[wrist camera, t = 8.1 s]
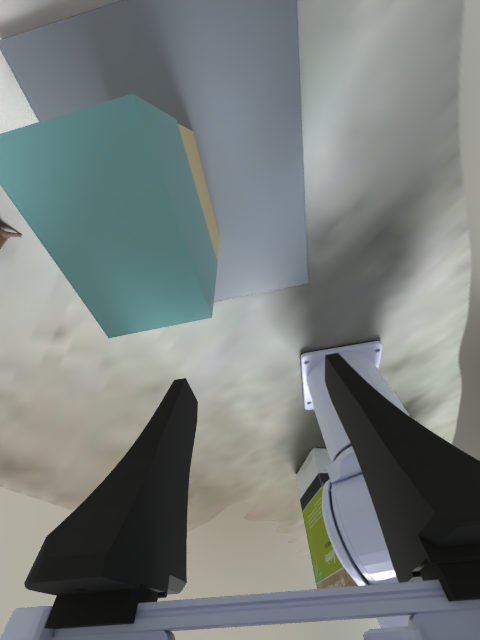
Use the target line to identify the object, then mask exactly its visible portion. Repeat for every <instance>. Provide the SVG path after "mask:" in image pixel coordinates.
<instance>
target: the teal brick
mask: <svg viewBox="0 0 480 640" xmlns="http://www.w3.org/2000/svg"><path fill="white" fill-rule="evenodd" d="M0 185H1V186H2V188H3V189H4V191H5V192H6V193H7V195H8V196H9V198H10V199H11V200H12V202H13V203H14V205H15V206H16V207H17V209H18V210H19V212H20V213H21V215H22V216H23V217H24V219H25V220H26V222H27V223H28V224H29V226H30V227H31V229H32V230H33V232H34V233H35V234H36V236H37V237H38V239H39V240H40V241H41V243H42V244H43V246H44V247H45V249H46V250H47V251H48V253H49V254H50V256H51V257H52V258H53V260H54V261H55V263H56V264H57V265H58V267H59V268H60V270H61V271H62V273H63V274H64V275H65V277H66V278H67V280H68V281H69V282H70V284H71V285H72V287H73V288H74V290H75V291H76V292H77V294H78V295H79V297H80V298H81V299H82V301H83V302H84V304H85V305H86V306H87V308H88V309H89V311H90V312H91V314H92V315H93V316H94V318H95V319H96V321H97V322H98V323H99V325H100V326H101V328H102V329H103V331H104V332H105V333H106V335H107V336H108V338H112V337H117V336H122V335H127V334H132V333H137V332H142V331H147V330H152V329H157V328H162V327H167V326H172V325H177V324H182V323H187V322H192V321H197V320H202V319H207V318H212V311H213V303H214V294H215V285H216V276H217V267H218V262H217V259H216V255H215V252H214V248H213V245H212V241H211V238H210V234H209V231H208V227H207V224H206V220H205V217H204V213H203V210H202V206H201V203H200V199H199V196H198V193H197V189H196V186H195V182H194V179H193V175H192V172H191V168H190V165H189V161H188V158H187V154H186V151H185V147H184V144H183V140H182V137H181V133H180V130H179V126H178V123H177V119H176V118H174V117H172V116H170V115H169V114H167V113H165V112H164V111H162V110H160V109H158V108H157V107H155V106H153V105H152V104H150V103H148V102H147V101H145V100H143V99H141V98H140V97H138V96H136V95H135V94H130V95H126V96H123V97H120V98H117V99H113V100H110V101H107V102H104V103H100V104H97V105H94V106H90V107H87V108H84V109H81V110H77V111H74V112H71V113H68V114H64V115H61V116H58V117H54V118H51V119H48V120H45V121H41V122H38V123H35V124H32V125H28V126H25V127H22V128H19V129H15V130H12V131H9V132H5V133H2V134H0Z"/></svg>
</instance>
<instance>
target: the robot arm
mask: <svg viewBox="0 0 480 640" xmlns="http://www.w3.org/2000/svg"><path fill="white" fill-rule="evenodd" d="M382 348H383V344H382V343H381V342H380V341H373V342H368V343H362V344H356V345H350V346H344V347H338V348H332V349H326V350H320V351H314V352H308V353H304V354H302V355H301V370H302V382H303V395H304V407H305V409H306V410H313V409H314V411H315V414H316V417H317V420H318V423H319V427H320V430H321V433H322V436H323V439H324V442H325V445H326V448H327V451H328V454H329V457H330V459H331V461H332V462H333V463H331V464H329V465H327V466H326V468H327V471H328V475H329V478H330V480H328V481H327V482H326V483H325V484H324V487H323V493H322V513H323V518H324V523H325V527H326V530H327V533H328V536H329V539H330V542H331V544H332V547H333V549H334V551H335V553H336V555H337V557H338V559H339V560H340V562H341V564H342V565H343V567H344V568H345V570H346V571H347V572H348V573H349V575H350V576H351V577H352V578H353V580H354V581H355V582H356V584H357V585H358V586H352V587H339V588H326V589H313V590H301V591H288V592H275V593H263V594H250V595H237V596H224V597H212V598H198V599H187V600H174V601H160V602H157V599H158V598H166V596H167V594H178V593H180V592H181V591H182V589H183V588H184V586H185V585H186V583H187V581H186V580H187V579H186V538H187V505H188V486H189V472H190V464H191V458H192V451H193V445H194V438H195V432H196V425H197V405H198V402H197V400H196V398H195V396H194V394H193V392H192V390H191V388H190V386H189V384H188V382H187V380H186V378H184V379H178V380H174V382H173V383H172V385H171V387H170V388H169V390H168V392H167V393H166V395H165V397H164V398H163V400H162V402H161V403H160V405H159V407H158V408H157V410H156V412H155V413H154V415H153V416H152V418H151V420H150V421H149V423H148V424H147V426H146V427H145V429H144V430H143V431H142V433H141V434H140V436H139V437H138V439H137V440H136V441H135V443H134V444H133V446H132V447H131V448H130V449H129V451H128V452H127V453H126V455H125V456H124V457H123V458H122V460H121V461H120V462H119V463H118V464H117V466H116V467H115V468H114V469H113V470H112V471H111V473H110V474H109V475H108V476H107V477H106V478H105V480H104V481H103V482H102V483H101V484H100V485H99V486H98V487H97V488H96V489H95V490H94V491H93V492H92V493H91V494H90V496H89V497H88V498H87V499H86V500H85V501H84V502H83V503H82V504H81V505H80V506H79V507H78V508H77V509H76V510H75V511H74V512H73V513H71V514H70V515H69V516H68V517H67V518H66V519H65V520H64V521H63V522H62V523H61V524H60V525H59V526H58V527H57V528H55V530H53V531H52V532H51V533H50V534H49V535H48V536H47V537H46V539H45V541H44V543H43V545H42V547H41V550H40V552H39V554H38V556H37V558H36V560H35V562H34V564H33V566H32V568H31V570H30V573H29V575H28V577H27V579H26V581H25V587H26V588H27V589H29V590H33V591H37V592H42V593H47V594H52V595H57V597H56V599H55V602H54V604H53V607H52V606H40V607H28V608H17V609H15V610H14V611H13V613H12V615H11V617H10V619H9V621H8V623H7V626H6V628H5V630H4V632H3V634H2V636H1V638H0V640H175V637H174V634H173V633H172V632H171V631H180V630H195V629H210V628H225V627H241V626H255V625H271V624H285V623H301V622H316V621H331V620H346V619H362V618H377V620H378V622H379V624H380V626H381V628H380V629H370V630H369V631H368V632H365V633H364V635H363V636H364V640H480V461H478V460H477V459H475V458H473V457H472V456H470V455H468V454H466V453H464V452H463V451H461V450H460V449H458V448H456V447H455V446H453V445H452V444H450V443H449V442H447V441H445V440H444V439H442V438H441V437H439V436H438V435H436V434H434V433H433V432H431V431H430V430H428V429H427V428H425V427H424V426H422V425H421V424H419V423H418V422H417V421H415V420H414V419H412V418H411V417H410V415H409V414H408V413H407V411H406V410H405V408H404V407H403V405H402V404H401V402H400V401H399V399H398V398H397V396H396V395H395V393H394V392H393V390H392V389H391V387H390V386H389V384H388V383H387V381H386V380H385V379H384V377H383V376H382V374H381V373H380V371H379V370H378V368H379V363H380V358H381V353H382Z"/></svg>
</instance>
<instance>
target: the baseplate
mask: <svg viewBox="0 0 480 640" xmlns="http://www.w3.org/2000/svg"><path fill="white" fill-rule="evenodd" d="M0 50H1V52H2V54H3V56H4V57H5V59H6V61H7V63H8V65H9V67H10V68H11V70H12V72H13V74H14V76H15V78H16V80H17V81H18V83H19V85H20V87H21V89H22V91H23V93H24V94H25V96H26V98H27V100H28V102H29V104H30V106H31V107H32V109H33V111H34V113H35V115H36V117H37V119H38V120H39V122H41V121H45V120H48V119H51V118H54V117H58V116H61V115H64V114H68V113H71V112H74V111H77V110H81V109H84V108H87V107H90V106H94V105H97V104H100V103H104V102H107V101H110V100H113V99H117V98H120V97H123V96H126V95H130V94H135V95H136V96H138V97H140V98H141V99H143V100H145V101H147V102H148V103H150V104H152V105H153V106H155V107H157V108H158V109H160V110H162V111H164V112H165V113H167V114H169V115H170V116H172V117H174V118H176V119H177V123H178V124H180V125H182V126H184V127H186V128H188V129H189V130H191V131H193V132H194V136H195V140H196V144H197V148H198V152H199V156H200V160H201V164H202V168H203V172H204V176H205V180H206V184H207V188H208V192H209V196H210V200H211V204H212V208H213V212H214V216H215V220H216V224H217V228H218V232H219V236H220V243H219V251H218V259H217V262H218V267H217V276H216V285H215V294H214V302H217V301H222V300H228V299H233V298H238V297H243V296H248V295H253V294H258V293H263V292H269V291H274V290H279V289H284V288H289V287H294V286H299V285H304V284H308V264H307V240H306V216H305V191H304V167H303V142H302V118H301V93H300V69H299V44H298V20H297V0H122V1H119V2H116V3H113V4H109V5H106V6H103V7H100V8H97V9H94V10H91V11H88V12H85V13H82V14H79V15H76V16H73V17H70V18H67V19H63V20H60V21H57V22H54V23H51V24H48V25H45V26H42V27H39V28H36V29H33V30H30V31H27V32H24V33H21V34H17V35H14V36H11V37H8V38H5V39H2V40H0Z"/></svg>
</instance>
